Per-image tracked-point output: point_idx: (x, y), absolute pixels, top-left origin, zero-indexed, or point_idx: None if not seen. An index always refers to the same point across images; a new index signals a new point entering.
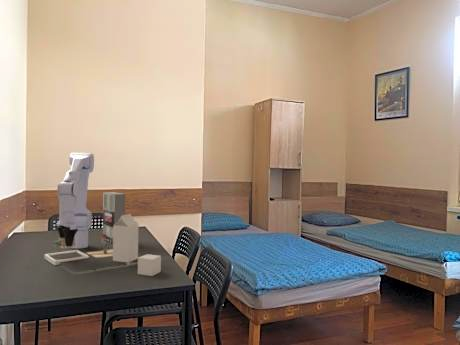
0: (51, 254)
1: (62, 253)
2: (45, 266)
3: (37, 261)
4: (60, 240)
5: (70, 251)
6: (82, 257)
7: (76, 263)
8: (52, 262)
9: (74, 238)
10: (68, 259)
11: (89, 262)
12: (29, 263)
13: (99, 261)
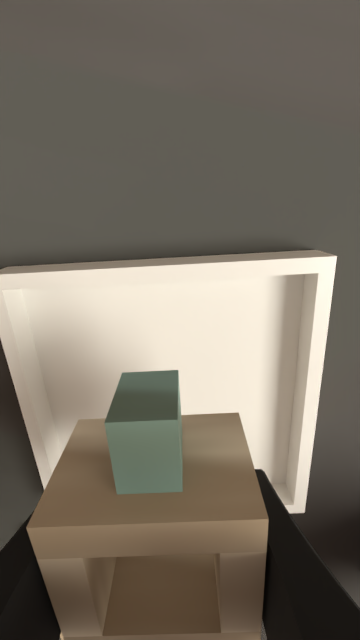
0: (310, 318)
1: (299, 405)
2: (5, 187)
3: (246, 163)
4: (141, 499)
5: (296, 466)
6: (44, 479)
7: (9, 412)
8: (65, 265)
9: None
10: (18, 387)
11: (3, 478)
12: (209, 62)
13: (5, 524)
